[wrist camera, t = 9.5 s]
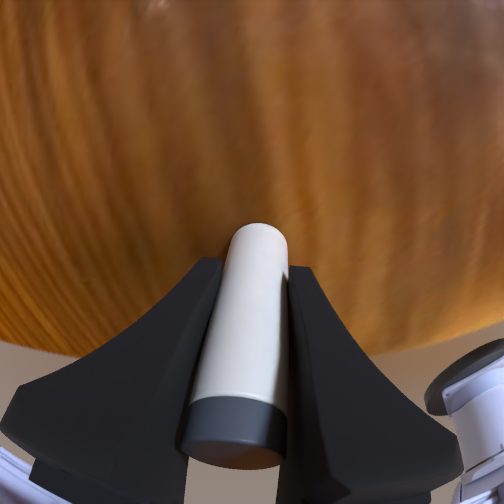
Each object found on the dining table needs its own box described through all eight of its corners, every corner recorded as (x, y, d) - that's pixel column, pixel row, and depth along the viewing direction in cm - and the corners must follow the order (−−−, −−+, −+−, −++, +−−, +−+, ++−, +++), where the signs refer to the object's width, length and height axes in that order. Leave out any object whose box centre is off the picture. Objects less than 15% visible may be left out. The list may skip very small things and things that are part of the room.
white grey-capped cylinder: (298, 254, 12) (305, 463, 5) (252, 278, 13) (226, 472, 6) (265, 211, 11) (240, 433, 4) (219, 240, 12) (157, 442, 5)
